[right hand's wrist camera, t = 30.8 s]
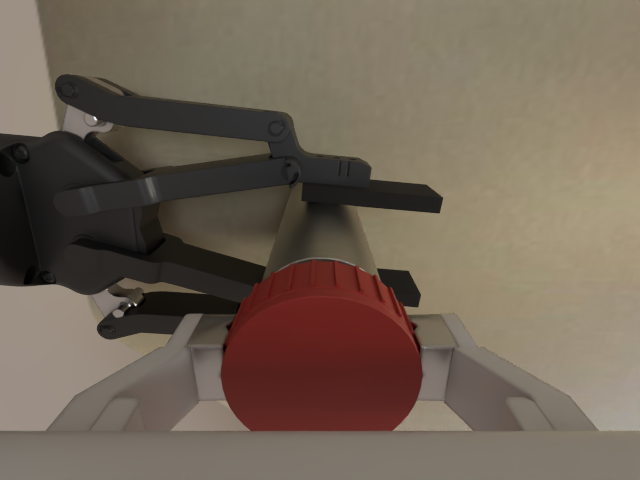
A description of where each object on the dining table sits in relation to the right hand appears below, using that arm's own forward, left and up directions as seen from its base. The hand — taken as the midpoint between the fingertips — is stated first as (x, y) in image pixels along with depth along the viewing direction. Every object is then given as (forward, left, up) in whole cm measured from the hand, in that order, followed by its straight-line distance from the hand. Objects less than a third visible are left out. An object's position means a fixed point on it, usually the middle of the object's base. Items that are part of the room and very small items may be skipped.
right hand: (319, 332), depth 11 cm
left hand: (0, +5, -8) cm, 10 cm away
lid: (0, 0, +2) cm, 2 cm away
